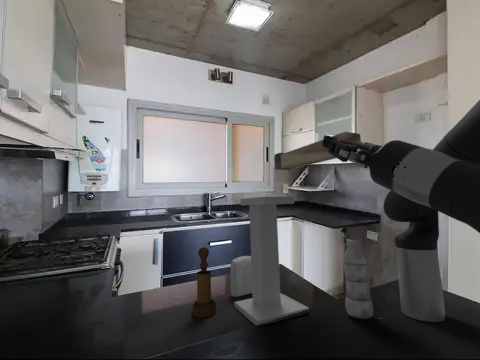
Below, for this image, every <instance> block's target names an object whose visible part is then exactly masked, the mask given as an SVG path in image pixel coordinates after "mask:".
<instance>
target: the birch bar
mask: <svg viewBox="0 0 480 360" xmlns="http://www.w3.org/2000/svg"><path fill="white" fill-rule="evenodd" d="M331 137H334V138H336V139H342V140H343V141H346V142H348V141H356V142H359V143H361V142H362V140H361V139H362V138H361V134H360V133H357V132H349V131H343V132H340V133H338V134H335V135H331ZM322 142H323V139H320V140H318V141H315V142H313V143H310V144H307V145H304V146H301V147H298V148H296V149H293V150H290V151H287V152H278V153H276V154H274V167H275V168H274V169H275V170H280V171H281V170H283V171H291V170H294V169H298V168H302V167H305V166H310V165H314V164H317V163H322V162H326V161H327V162H328V161H330V160H331V161H332V160H335V159H337V158H336V157H334V156H333V155H331V154H330V153H328V151H329V149H328V148H326V147H324V146H322ZM355 146H356V145H354V147H353V149H354V148H355ZM352 151H353V150H352Z"/></svg>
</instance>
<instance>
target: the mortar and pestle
mask: <svg viewBox="0 0 480 360" xmlns="http://www.w3.org/2000/svg"><path fill="white" fill-rule="evenodd" d="M209 254H210V251H209V249H208V248H207V247H201V248H199V250H198V256H199V259H200V260H201V261H200V263H199V268H200V270H199V271H197V273H196V274H197V275H196V277H197V278H196V279H197V281H196V282H197V283H196V285H197V286H196V287H197V289H196V290H197V291H196V292H197V293H196V300H195V301H194V303H193V304H192V315H193V316H194V317H196V318H208V317H211V316H214V315H215V314H216V312H217V305H216V304H217V303H216V301H214V300H213V299H212V282H211V281H212V275H211V274H212V272H211V271H210V270H208V267H209V266H208V265H209V263H208V262H207V258H208V256H209Z"/></svg>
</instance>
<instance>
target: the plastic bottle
mask: <svg viewBox="0 0 480 360" xmlns="http://www.w3.org/2000/svg"><path fill="white" fill-rule="evenodd" d="M345 240H346V244H345V245H346V246H347V249H346V250H345V252H344V253H343V255H342V259H341V260H342V264H343V268H344V269H343V270H344V274H345V282H346V283H345V284H346V285H345V293H346V295H345V300H344V306H345V310H346V312H347V314H348V315H349V316H351V317H352V318H355V319H359V320H367V319H368V320H370V318H371V317H372V316H373V315H374V314H373V313H374V305H373V302H372V299H371V292H370V285H369V284H370V283H369V270H370V259H369V255H368V254H367V253H366V252H365V250H364V249H363V248H362V247H363V243H362V238H356V237H351V238H350V237H348V238H346V239H345Z"/></svg>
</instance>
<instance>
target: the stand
mask: <svg viewBox="0 0 480 360" xmlns="http://www.w3.org/2000/svg"><path fill="white" fill-rule="evenodd" d="M287 204H288V205H290V204H291V205H292V204H295V197H294V196H257V197H247V198H240V206H249V207H248V208H249V227H250V229H249V230H250V231H249V234H250V235H249V236H250V256H251V269H252V293H251V295H252V298H247V299H243V300H237V301H234V309H236V310H237V311H238V312H239V313H241V314H242V315H243V316H244V317H245V318H246V319H248V320H249V321H250V322H251V323H252V324H253V325H255V326H256V325H258V324H261V323H265V322H268V321H271V320H274V319H277V318H281V317H284V316H288V315H292V314H295V313H299V312H302V311H305V310H309V311H310V309H309V307H308V306H306V305H304V304H302V303H300V302H299V301H297V300H295V299H293V298H291V297H289V296H287V295H286V294H283V293H281V276H280V275H281V274H280V258H279V257H280V255H279V236H278V235H279V234H278V233H279V231H278V213H277V211H278V209H277V208H278V207H277V205H287Z"/></svg>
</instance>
